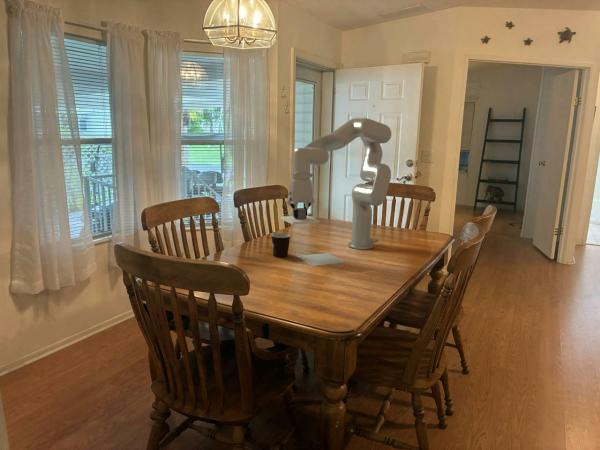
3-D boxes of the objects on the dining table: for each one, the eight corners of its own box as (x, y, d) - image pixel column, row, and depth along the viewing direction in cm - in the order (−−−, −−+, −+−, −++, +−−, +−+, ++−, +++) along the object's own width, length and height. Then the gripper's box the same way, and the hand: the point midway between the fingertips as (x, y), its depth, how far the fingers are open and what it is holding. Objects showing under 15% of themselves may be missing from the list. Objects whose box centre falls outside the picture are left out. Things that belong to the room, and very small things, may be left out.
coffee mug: (287, 260, 198) (288, 238, 196) (268, 258, 200) (269, 236, 198) (293, 253, 209) (293, 232, 207) (275, 251, 211) (275, 231, 209)
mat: (327, 253, 210) (328, 252, 210) (344, 263, 195) (344, 262, 195) (296, 256, 203) (296, 255, 203) (311, 267, 189) (311, 265, 189)
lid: (306, 217, 207) (307, 205, 205) (319, 222, 195) (320, 210, 194) (280, 218, 201) (281, 206, 200) (292, 224, 190) (293, 211, 189)
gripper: (314, 175, 201) (312, 215, 205) (280, 175, 194) (279, 217, 198) (322, 177, 194) (320, 218, 198) (287, 177, 187) (286, 220, 191)
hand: (299, 217), depth 198 cm, fingers closed on lid, 3 cm apart
